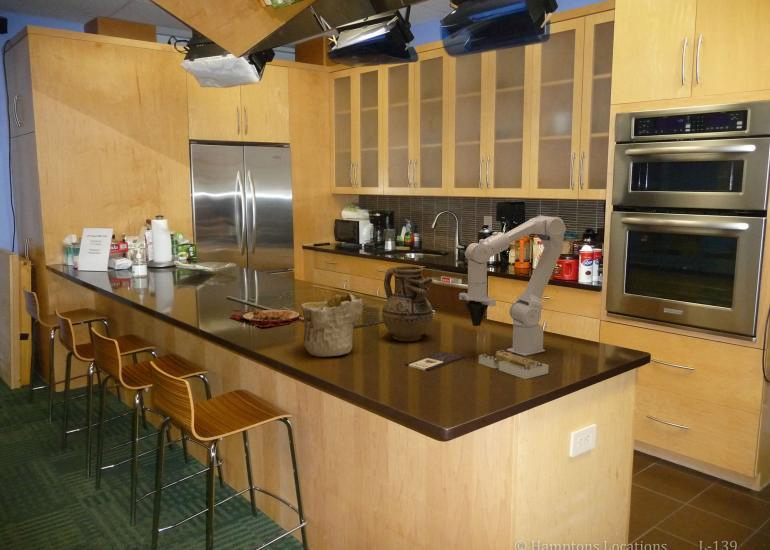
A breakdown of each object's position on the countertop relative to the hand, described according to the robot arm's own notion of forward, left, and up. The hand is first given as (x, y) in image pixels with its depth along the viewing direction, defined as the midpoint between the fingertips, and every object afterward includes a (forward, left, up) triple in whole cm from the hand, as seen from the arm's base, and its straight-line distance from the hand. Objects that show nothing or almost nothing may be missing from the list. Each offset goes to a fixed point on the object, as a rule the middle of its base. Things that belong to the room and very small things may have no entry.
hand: (476, 325), depth 194 cm
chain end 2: (0, +20, -10) cm, 22 cm away
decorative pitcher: (+4, -31, -10) cm, 33 cm away
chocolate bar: (+14, -3, -10) cm, 18 cm away
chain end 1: (0, +9, -10) cm, 14 cm away
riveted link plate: (-1, +16, -10) cm, 19 cm away
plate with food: (+29, -89, -11) cm, 94 cm away
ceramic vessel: (+35, -33, -10) cm, 49 cm away
